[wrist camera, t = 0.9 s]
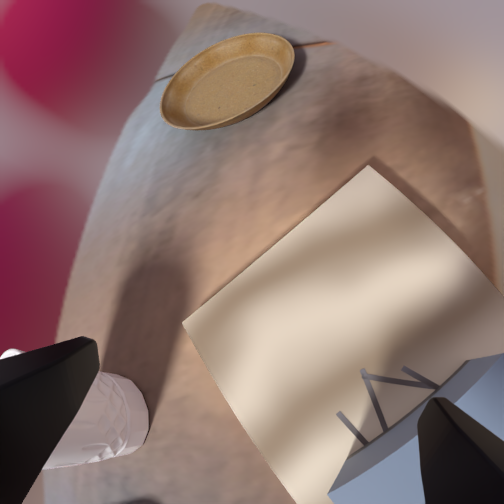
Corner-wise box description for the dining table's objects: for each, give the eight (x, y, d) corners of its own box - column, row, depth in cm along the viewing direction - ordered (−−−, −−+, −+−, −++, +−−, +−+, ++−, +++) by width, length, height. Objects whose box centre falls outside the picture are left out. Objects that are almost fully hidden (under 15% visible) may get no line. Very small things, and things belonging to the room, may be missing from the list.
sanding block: (508, 417, 11) (556, 432, 6) (390, 511, 12) (386, 565, 7) (466, 360, 13) (503, 352, 8) (347, 456, 14) (326, 494, 9)
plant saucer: (293, 35, 31) (286, 18, 29) (312, 118, 25) (303, 96, 23) (181, 76, 36) (171, 62, 34) (164, 164, 30) (148, 149, 28)
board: (561, 394, 11) (572, 394, 9) (355, 558, 12) (351, 569, 11) (370, 177, 21) (368, 164, 20) (193, 326, 22) (181, 322, 21)
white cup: (81, 386, 25) (-15, 371, 16) (136, 352, 23) (27, 328, 15) (107, 467, 21) (6, 475, 12) (171, 447, 20) (55, 463, 11)
